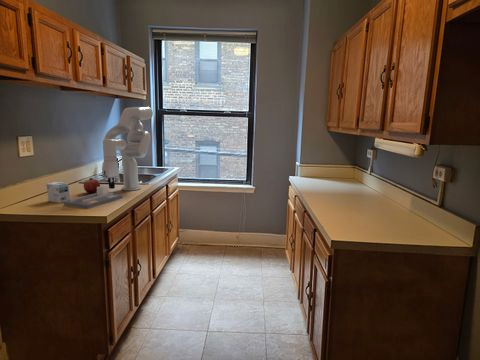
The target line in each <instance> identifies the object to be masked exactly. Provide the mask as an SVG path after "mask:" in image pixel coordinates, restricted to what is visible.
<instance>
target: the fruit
mask: <svg viewBox="0 0 480 360" xmlns="http://www.w3.org/2000/svg"><path fill="white" fill-rule="evenodd" d="M99 186H101V183H100V181H98V179H94V178H93V177H90V178H89V179H87V180H85V181H84V183H83V189H84V191H85V192H86V193H90V194H95V193H97V187H99Z"/></svg>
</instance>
